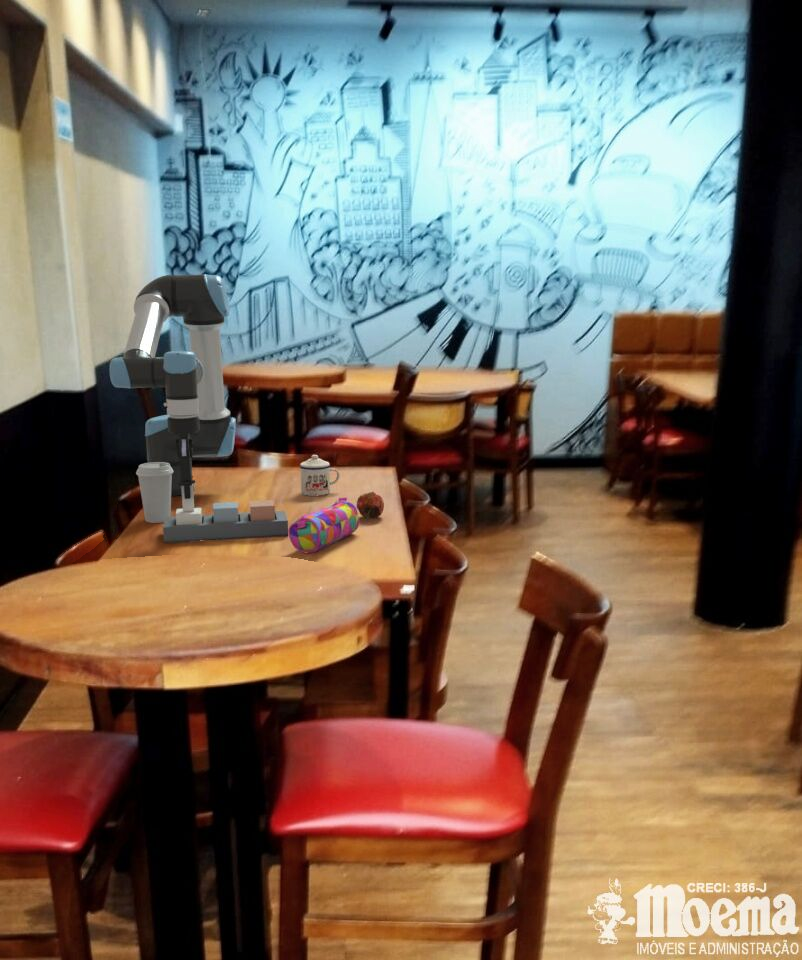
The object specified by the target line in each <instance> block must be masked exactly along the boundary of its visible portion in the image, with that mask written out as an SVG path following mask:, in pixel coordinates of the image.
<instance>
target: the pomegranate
mask: <svg viewBox="0 0 802 960" xmlns="http://www.w3.org/2000/svg"><path fill="white" fill-rule="evenodd" d="M384 508H385V503H384V499H383V498H382V496H381V495H378V494H377V493H376V492H375V491H372V492H371V491H370V492H367V493H364V494H360V495H359V497H358V498H357V501H356V509H357V511H358V514H360V516H362V517H364V518H366V521H365V522H368V520H369V518H379V517H380V516H381V515H382V514H383V512H384Z"/></svg>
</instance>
